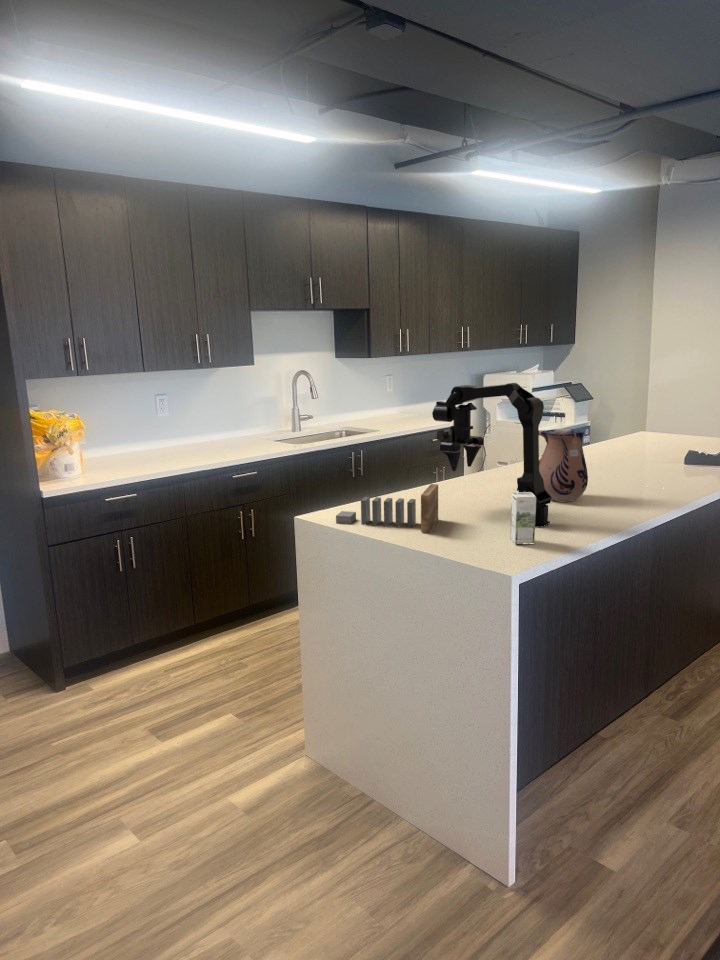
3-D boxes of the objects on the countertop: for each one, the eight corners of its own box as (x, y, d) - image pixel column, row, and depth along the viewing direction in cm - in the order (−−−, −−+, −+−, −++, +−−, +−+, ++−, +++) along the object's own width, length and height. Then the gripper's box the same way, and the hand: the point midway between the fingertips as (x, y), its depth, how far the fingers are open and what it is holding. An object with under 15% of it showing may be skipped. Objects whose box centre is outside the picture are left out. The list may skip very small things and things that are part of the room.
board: (438, 520, 228) (438, 484, 226) (428, 533, 213) (428, 495, 211) (431, 519, 229) (430, 484, 226) (421, 533, 214) (420, 495, 211)
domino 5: (415, 523, 225) (415, 499, 223) (412, 527, 220) (412, 502, 218) (410, 522, 225) (410, 498, 224) (407, 527, 221) (407, 502, 219)
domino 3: (392, 521, 227) (392, 498, 225) (388, 526, 222) (388, 501, 221) (387, 521, 227) (387, 497, 226) (384, 525, 223) (383, 501, 221)
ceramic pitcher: (589, 505, 241) (592, 434, 236) (527, 504, 245) (529, 434, 240) (584, 494, 258) (587, 427, 253) (525, 493, 262) (527, 427, 257)
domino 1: (370, 520, 229) (369, 497, 227) (366, 524, 224) (365, 500, 223) (365, 520, 230) (365, 496, 228) (361, 524, 225) (360, 500, 223)
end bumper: (356, 519, 231) (355, 511, 231) (350, 523, 225) (350, 516, 225) (341, 518, 232) (341, 511, 232) (336, 523, 227) (335, 515, 226)
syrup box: (529, 539, 205) (530, 491, 202) (534, 545, 199) (536, 495, 196) (510, 539, 205) (511, 491, 202) (515, 545, 199) (516, 496, 196)
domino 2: (381, 521, 228) (381, 497, 226) (377, 525, 223) (376, 501, 222) (376, 520, 228) (376, 497, 227) (372, 525, 224) (372, 500, 222)
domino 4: (404, 522, 226) (403, 498, 224) (400, 526, 221) (400, 502, 220) (399, 522, 226) (399, 498, 225) (395, 526, 222) (395, 501, 220)
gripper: (457, 418, 245) (457, 462, 248) (425, 424, 231) (426, 470, 234) (484, 420, 237) (484, 465, 241) (453, 426, 224) (453, 474, 227)
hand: (461, 468), depth 236 cm, fingers open, 9 cm apart
